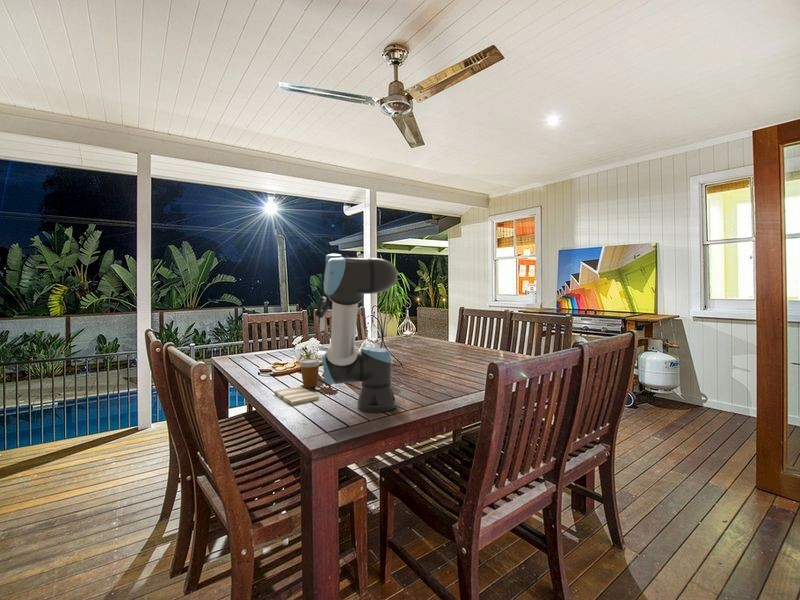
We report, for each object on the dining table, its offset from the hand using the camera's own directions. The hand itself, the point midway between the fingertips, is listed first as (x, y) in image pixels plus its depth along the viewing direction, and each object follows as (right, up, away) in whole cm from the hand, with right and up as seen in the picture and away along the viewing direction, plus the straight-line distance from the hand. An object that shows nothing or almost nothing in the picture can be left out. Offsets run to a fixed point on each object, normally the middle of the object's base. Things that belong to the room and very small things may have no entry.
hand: (334, 333), depth 176 cm
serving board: (-14, -26, -12) cm, 32 cm away
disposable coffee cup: (-12, -26, +5) cm, 29 cm away
